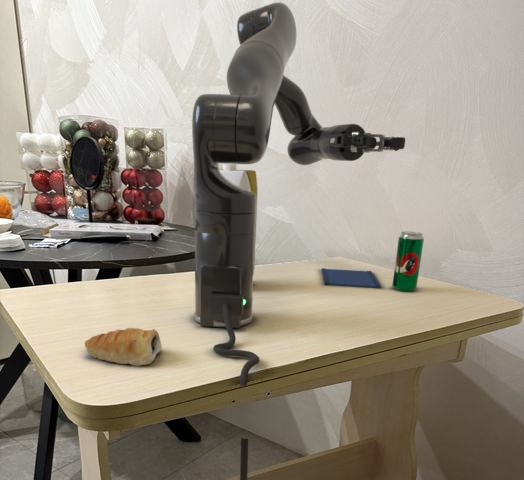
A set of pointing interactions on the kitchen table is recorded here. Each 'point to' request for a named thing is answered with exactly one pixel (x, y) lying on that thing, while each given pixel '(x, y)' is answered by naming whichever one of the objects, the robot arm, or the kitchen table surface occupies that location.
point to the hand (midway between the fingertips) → (386, 141)
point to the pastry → (125, 346)
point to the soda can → (408, 261)
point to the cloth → (350, 278)
